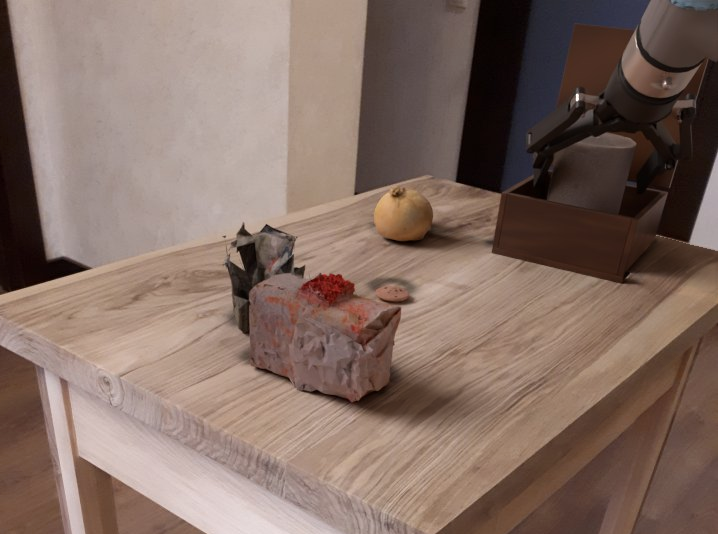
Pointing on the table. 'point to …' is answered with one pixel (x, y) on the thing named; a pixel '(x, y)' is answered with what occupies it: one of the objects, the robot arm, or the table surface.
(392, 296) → the cookie
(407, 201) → the onion
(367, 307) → the food item
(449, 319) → the table surface
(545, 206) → the chest
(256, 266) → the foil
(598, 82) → the chest lid
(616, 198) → the pillar candle
